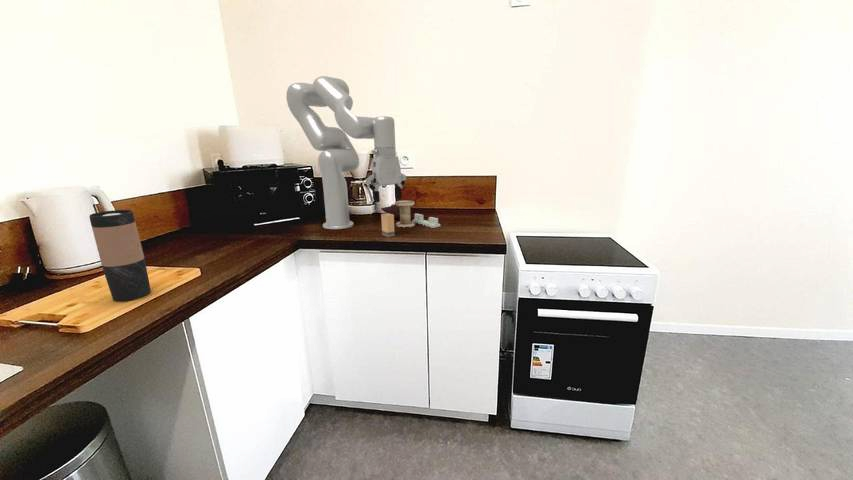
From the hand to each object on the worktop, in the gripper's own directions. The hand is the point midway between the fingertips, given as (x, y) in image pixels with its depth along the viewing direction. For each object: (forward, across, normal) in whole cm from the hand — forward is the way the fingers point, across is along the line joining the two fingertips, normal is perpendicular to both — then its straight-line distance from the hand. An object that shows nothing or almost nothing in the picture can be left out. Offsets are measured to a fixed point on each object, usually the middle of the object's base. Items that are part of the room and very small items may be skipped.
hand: (387, 200), depth 132 cm
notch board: (+14, +22, +4) cm, 26 cm away
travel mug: (+13, -77, -5) cm, 79 cm away
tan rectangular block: (+14, 0, 0) cm, 14 cm away
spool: (+13, +14, +8) cm, 21 cm away
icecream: (+14, +18, +23) cm, 32 cm away
